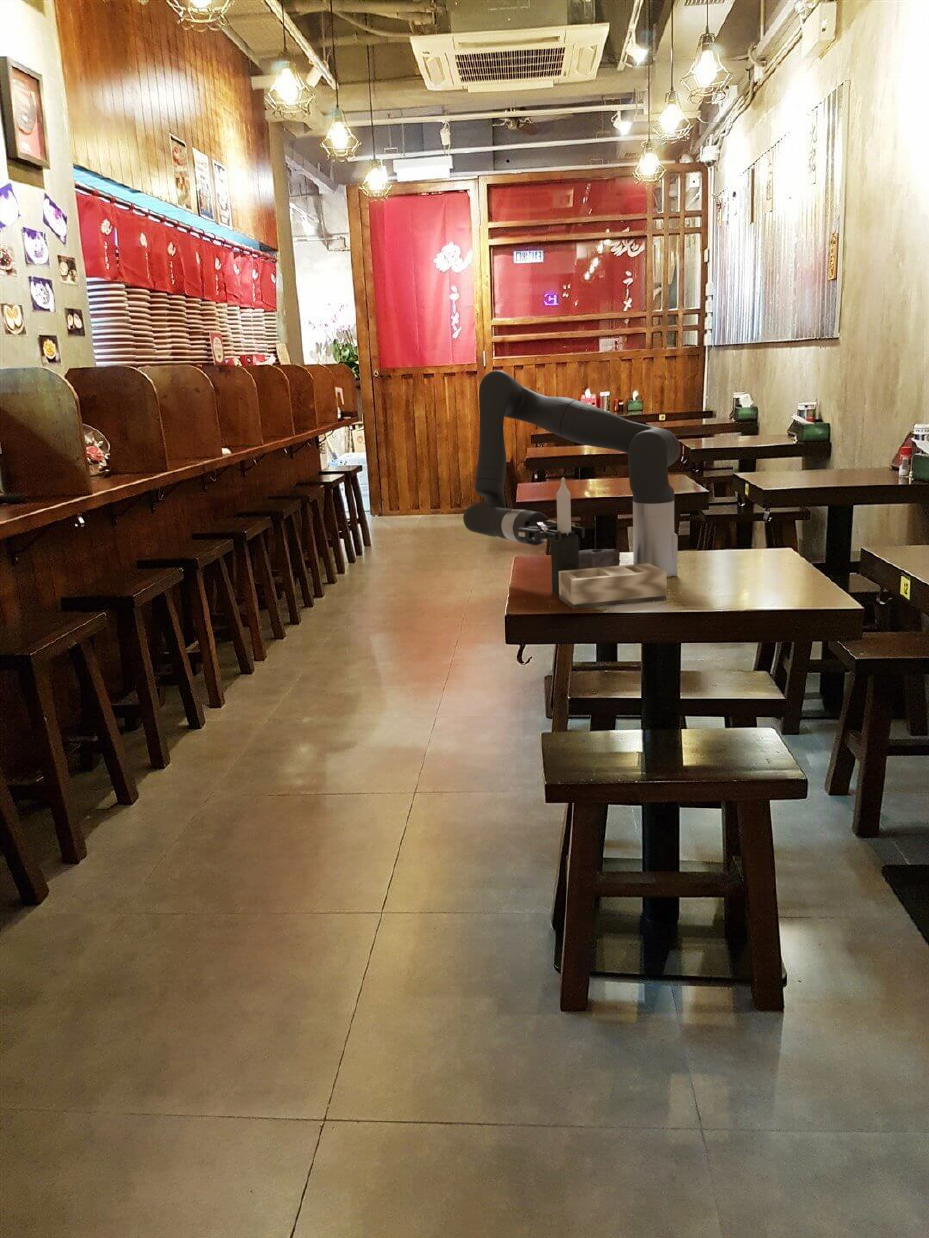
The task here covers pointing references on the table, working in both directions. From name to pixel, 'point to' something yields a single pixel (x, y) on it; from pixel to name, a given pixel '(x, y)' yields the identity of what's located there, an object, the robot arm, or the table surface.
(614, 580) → the stand
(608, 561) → the perforated stone tool
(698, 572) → the table surface
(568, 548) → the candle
